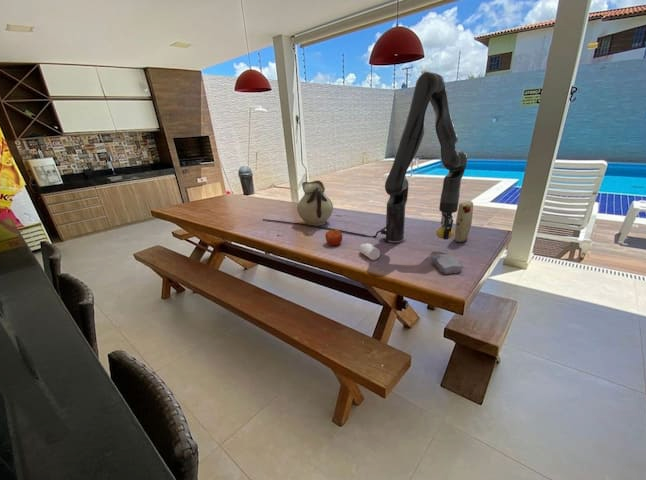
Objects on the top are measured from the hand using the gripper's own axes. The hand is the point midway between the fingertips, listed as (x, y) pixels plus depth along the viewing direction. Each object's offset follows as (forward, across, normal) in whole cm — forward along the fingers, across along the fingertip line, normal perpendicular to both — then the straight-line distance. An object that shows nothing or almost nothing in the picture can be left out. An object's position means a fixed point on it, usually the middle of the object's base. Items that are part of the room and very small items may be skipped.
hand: (444, 236), depth 140 cm
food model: (+8, -15, +11) cm, 20 cm away
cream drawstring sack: (+9, -43, -69) cm, 82 cm away
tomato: (+9, -8, -53) cm, 54 cm away
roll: (+8, +5, -34) cm, 36 cm away
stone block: (+8, +17, 0) cm, 19 cm away
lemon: (+1, 0, 0) cm, 1 cm away
